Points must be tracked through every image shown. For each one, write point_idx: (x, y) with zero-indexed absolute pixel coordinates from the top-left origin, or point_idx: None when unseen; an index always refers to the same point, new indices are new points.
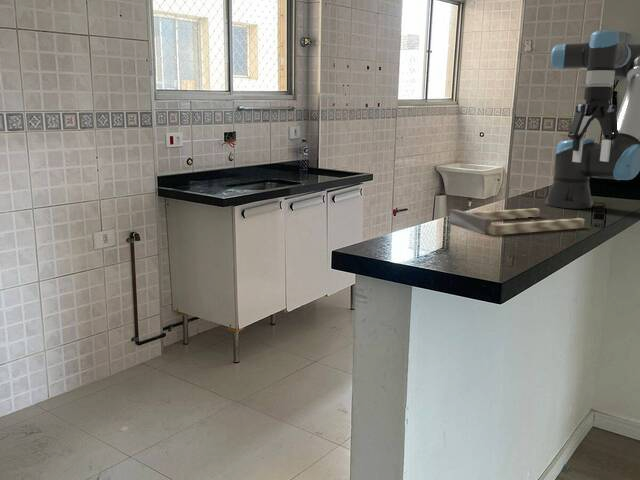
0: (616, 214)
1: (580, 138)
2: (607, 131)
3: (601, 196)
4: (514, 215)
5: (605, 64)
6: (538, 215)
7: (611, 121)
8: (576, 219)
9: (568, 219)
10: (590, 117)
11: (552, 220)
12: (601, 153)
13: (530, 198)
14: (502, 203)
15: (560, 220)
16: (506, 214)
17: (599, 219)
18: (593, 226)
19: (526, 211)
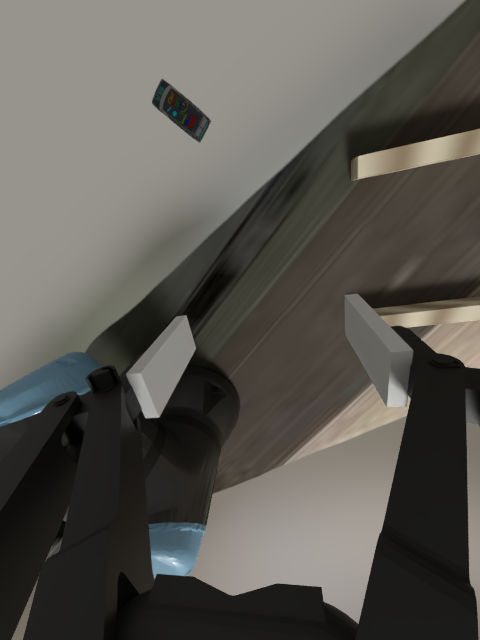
0: (152, 310)
1: (437, 356)
2: (126, 427)
3: None
4: (434, 304)
5: None
6: None
7: (19, 531)
8: (386, 155)
9: (410, 158)
10: (470, 609)
11: (477, 146)
12: (184, 363)
13: (221, 469)
14: (310, 444)
15: (451, 143)
16: (465, 303)
17: (227, 264)
18: (307, 178)
19: (398, 312)
